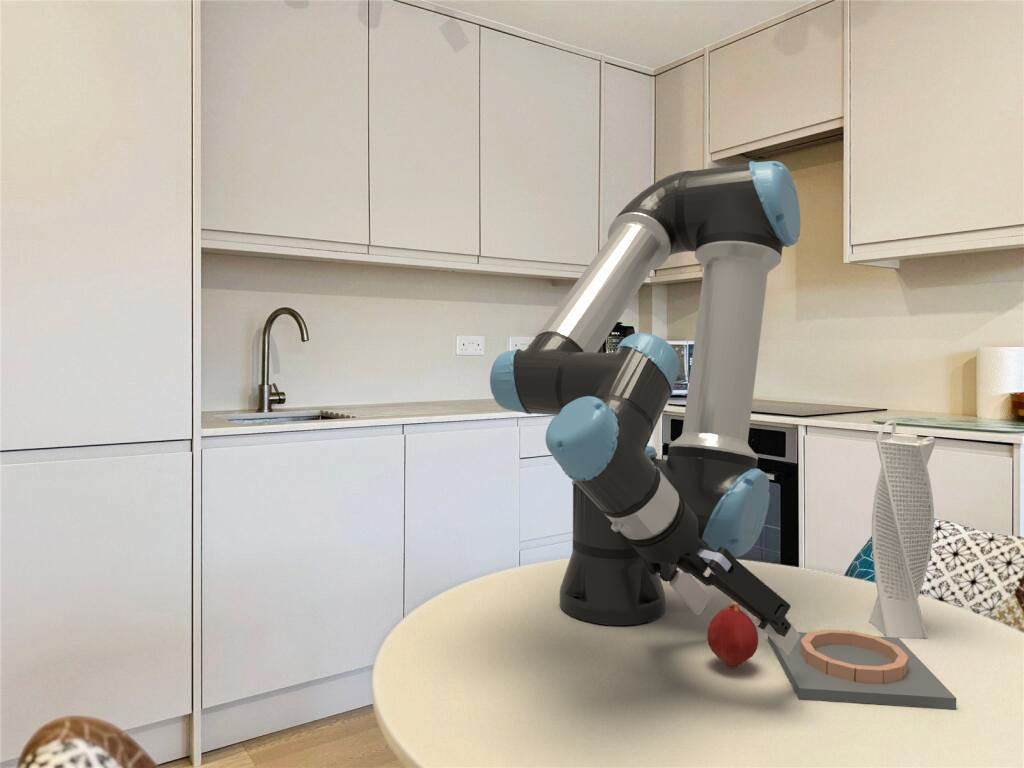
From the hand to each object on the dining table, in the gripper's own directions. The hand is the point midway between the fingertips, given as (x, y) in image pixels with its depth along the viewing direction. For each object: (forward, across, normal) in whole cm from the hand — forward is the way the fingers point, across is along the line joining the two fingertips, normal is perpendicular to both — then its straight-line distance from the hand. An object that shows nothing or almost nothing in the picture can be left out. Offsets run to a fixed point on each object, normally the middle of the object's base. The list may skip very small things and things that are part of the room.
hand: (744, 624), depth 90 cm
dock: (+10, +8, +3) cm, 13 cm away
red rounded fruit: (+2, 0, -5) cm, 5 cm away
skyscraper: (+22, +3, +15) cm, 27 cm away
